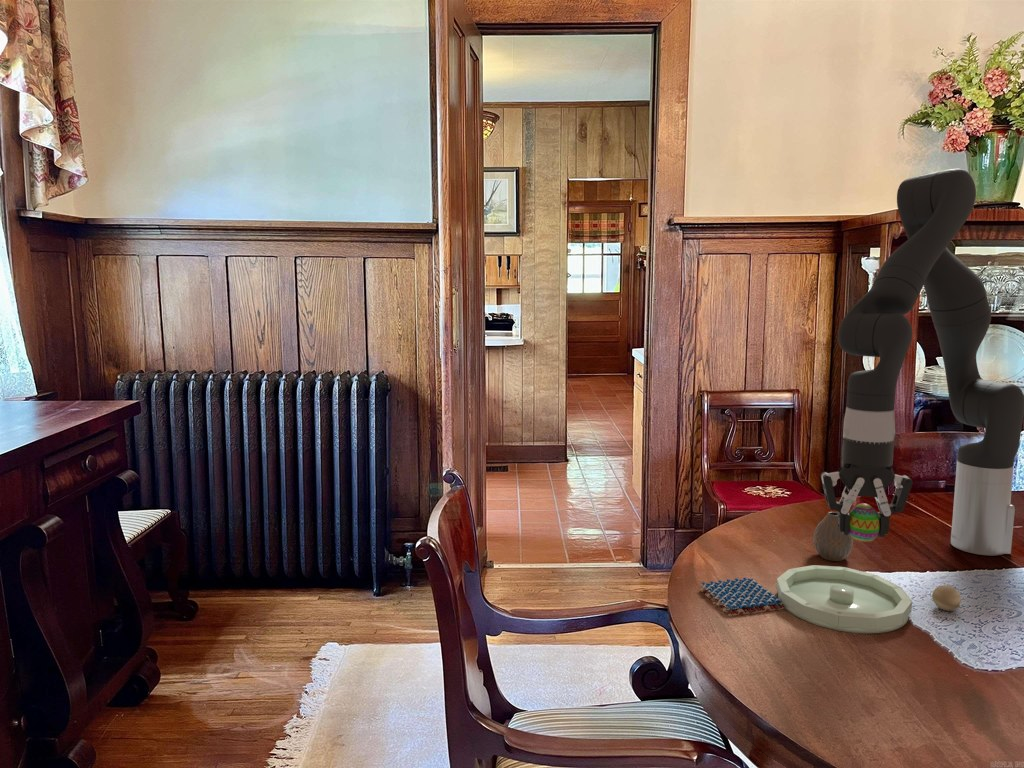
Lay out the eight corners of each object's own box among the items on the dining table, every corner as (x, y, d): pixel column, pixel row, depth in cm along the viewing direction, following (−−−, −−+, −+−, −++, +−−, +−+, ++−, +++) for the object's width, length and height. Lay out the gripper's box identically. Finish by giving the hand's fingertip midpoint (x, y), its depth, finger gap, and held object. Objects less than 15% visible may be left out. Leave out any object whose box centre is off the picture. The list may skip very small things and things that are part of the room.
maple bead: (954, 605, 118) (956, 581, 117) (964, 616, 114) (966, 592, 114) (927, 603, 119) (929, 580, 118) (936, 614, 115) (938, 590, 114)
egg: (840, 537, 121) (842, 503, 120) (855, 531, 123) (857, 497, 123) (869, 545, 117) (871, 510, 116) (884, 538, 120) (886, 504, 119)
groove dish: (887, 584, 126) (888, 569, 126) (927, 638, 107) (928, 622, 107) (770, 576, 130) (771, 562, 130) (788, 627, 111) (788, 611, 111)
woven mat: (728, 620, 115) (729, 608, 115) (697, 592, 125) (697, 581, 125) (786, 613, 117) (787, 601, 117) (751, 586, 127) (752, 575, 127)
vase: (856, 565, 134) (858, 520, 133) (816, 563, 136) (819, 518, 135) (846, 551, 141) (849, 508, 140) (809, 549, 143) (811, 507, 141)
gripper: (908, 431, 120) (902, 529, 122) (817, 429, 123) (812, 524, 125) (924, 441, 112) (916, 545, 115) (826, 438, 115) (821, 540, 118)
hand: (862, 534), depth 120 cm, fingers closed on egg, 5 cm apart
